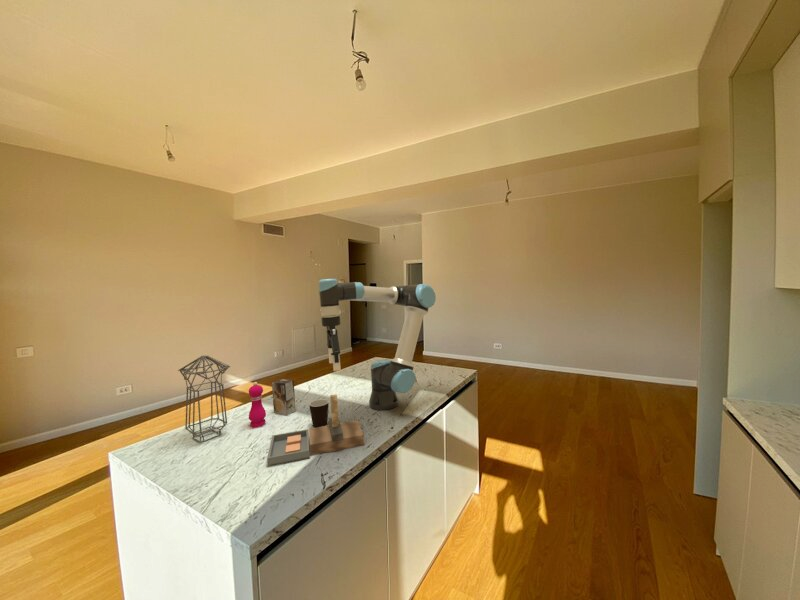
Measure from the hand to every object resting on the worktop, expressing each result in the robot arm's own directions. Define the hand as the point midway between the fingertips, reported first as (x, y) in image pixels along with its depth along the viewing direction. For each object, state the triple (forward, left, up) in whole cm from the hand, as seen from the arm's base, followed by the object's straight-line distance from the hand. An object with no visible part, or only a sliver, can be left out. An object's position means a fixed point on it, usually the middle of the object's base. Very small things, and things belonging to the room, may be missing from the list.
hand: (334, 366), depth 128 cm
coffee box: (+23, -34, -29) cm, 50 cm away
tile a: (+17, +3, -26) cm, 31 cm away
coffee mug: (+6, -13, -29) cm, 32 cm away
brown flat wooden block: (+2, +7, -28) cm, 29 cm away
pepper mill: (+34, -23, -29) cm, 50 cm away
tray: (+19, +7, -28) cm, 35 cm away
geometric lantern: (+53, -20, -29) cm, 64 cm away
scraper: (+1, +7, -24) cm, 25 cm away
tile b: (+18, +11, -26) cm, 33 cm away
